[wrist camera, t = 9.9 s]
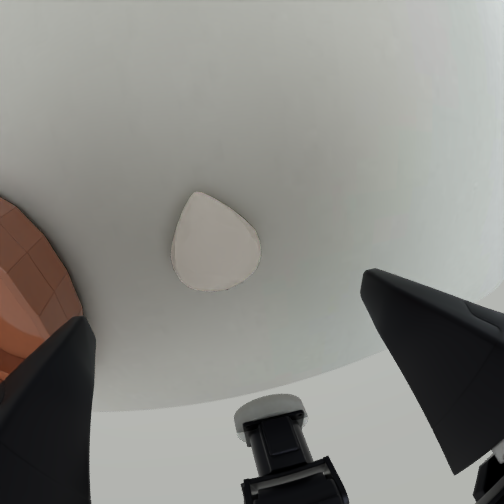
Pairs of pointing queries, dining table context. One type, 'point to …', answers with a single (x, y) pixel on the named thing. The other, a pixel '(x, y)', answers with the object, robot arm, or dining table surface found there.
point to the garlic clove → (213, 245)
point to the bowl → (29, 289)
